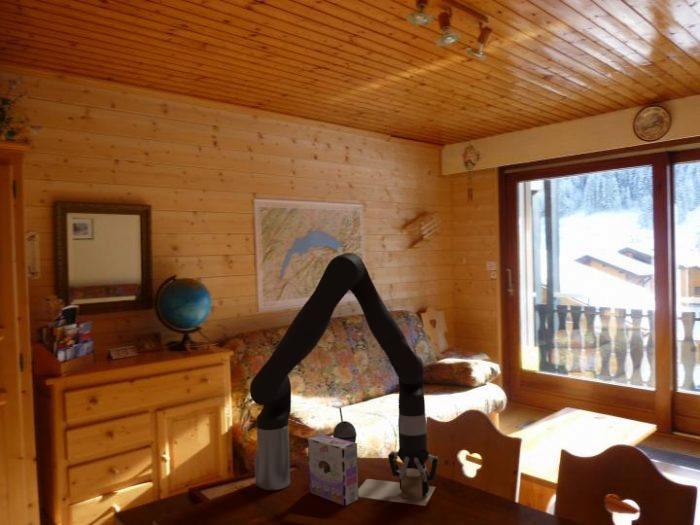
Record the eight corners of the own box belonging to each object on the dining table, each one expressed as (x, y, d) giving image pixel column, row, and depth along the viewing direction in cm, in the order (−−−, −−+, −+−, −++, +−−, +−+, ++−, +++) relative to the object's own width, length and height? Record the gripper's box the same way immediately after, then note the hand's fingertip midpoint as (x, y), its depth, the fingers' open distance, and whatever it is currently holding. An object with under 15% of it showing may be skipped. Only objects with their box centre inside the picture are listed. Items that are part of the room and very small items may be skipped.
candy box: (360, 504, 145) (358, 442, 145) (344, 512, 141) (342, 448, 141) (323, 490, 155) (322, 432, 155) (308, 497, 151) (306, 437, 150)
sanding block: (401, 498, 144) (400, 479, 144) (409, 486, 152) (408, 468, 152) (420, 500, 143) (419, 481, 143) (427, 488, 150) (426, 470, 150)
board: (352, 501, 147) (352, 495, 147) (367, 483, 158) (367, 478, 158) (425, 511, 140) (425, 505, 140) (435, 492, 151) (435, 486, 151)
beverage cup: (357, 477, 163) (355, 410, 163) (333, 477, 164) (331, 410, 164) (357, 467, 171) (355, 403, 171) (334, 468, 171) (332, 404, 171)
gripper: (382, 431, 146) (385, 495, 146) (435, 436, 141) (438, 502, 141) (390, 423, 153) (393, 484, 153) (441, 427, 148) (443, 490, 148)
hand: (414, 492), depth 147 cm, fingers closed on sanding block, 5 cm apart
